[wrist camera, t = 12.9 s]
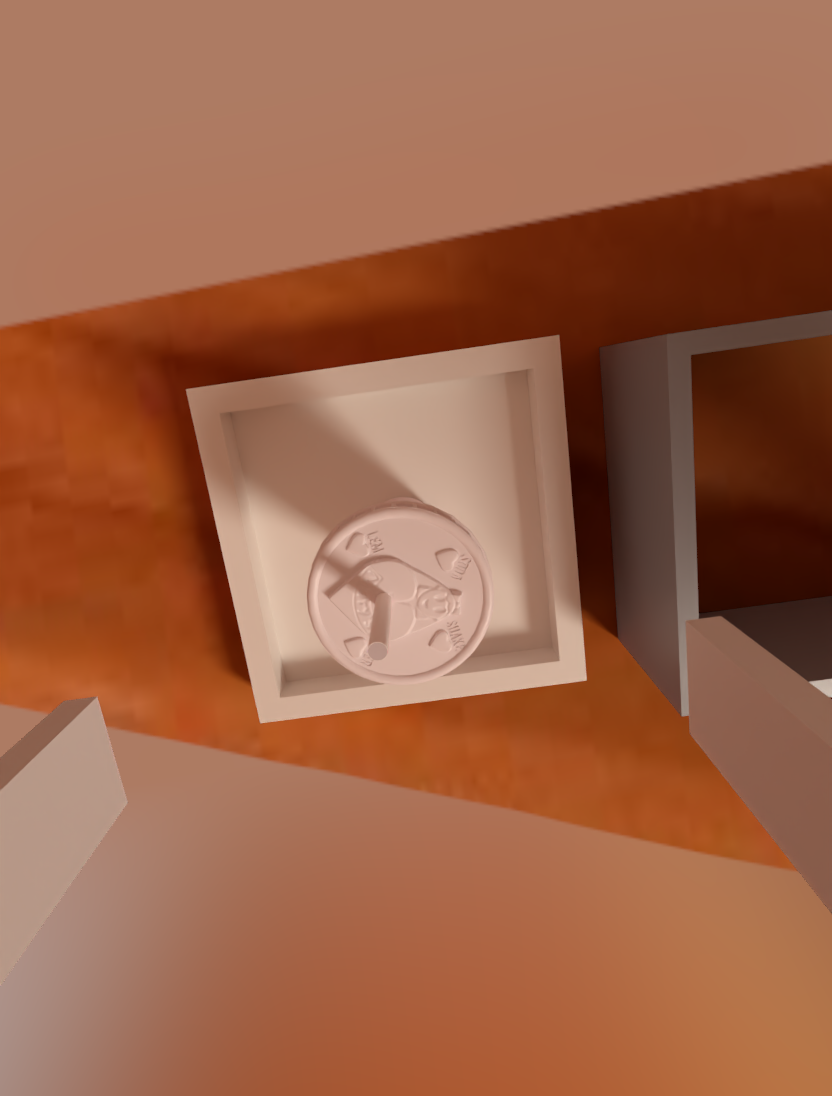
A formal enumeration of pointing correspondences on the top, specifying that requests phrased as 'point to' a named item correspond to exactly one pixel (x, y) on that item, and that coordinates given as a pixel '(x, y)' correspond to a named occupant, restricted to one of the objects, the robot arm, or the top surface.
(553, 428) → the tray
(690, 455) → the deep bin
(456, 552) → the smoothie
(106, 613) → the top surface
